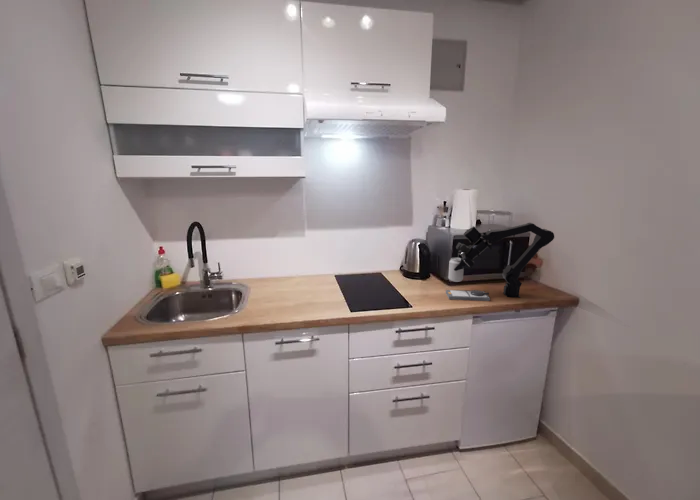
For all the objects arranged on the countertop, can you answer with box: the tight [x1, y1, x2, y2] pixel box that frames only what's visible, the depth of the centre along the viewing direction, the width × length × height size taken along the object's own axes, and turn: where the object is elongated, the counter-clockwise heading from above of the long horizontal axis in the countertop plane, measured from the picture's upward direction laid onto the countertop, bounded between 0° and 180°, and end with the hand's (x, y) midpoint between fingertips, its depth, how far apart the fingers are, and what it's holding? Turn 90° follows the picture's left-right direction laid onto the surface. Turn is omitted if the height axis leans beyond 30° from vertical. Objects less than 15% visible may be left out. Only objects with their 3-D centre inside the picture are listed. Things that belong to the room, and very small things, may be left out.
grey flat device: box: [445, 289, 491, 302], centre depth 170 cm, size 21×10×3 cm, turn 84°
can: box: [448, 257, 465, 283], centre depth 175 cm, size 8×8×12 cm
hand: (453, 268), depth 175 cm, fingers closed on can, 7 cm apart
